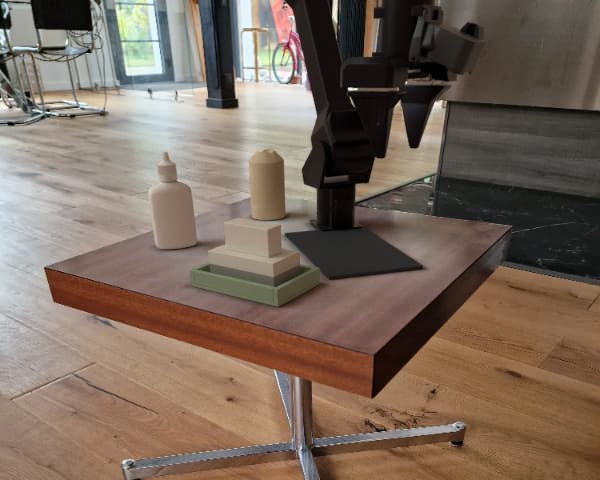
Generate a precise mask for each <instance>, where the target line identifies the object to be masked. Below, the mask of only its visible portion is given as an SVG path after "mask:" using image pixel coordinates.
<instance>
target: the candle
mask: <svg viewBox="0 0 600 480" xmlns="http://www.w3.org/2000/svg"><path fill="white" fill-rule="evenodd" d="M248 173H249V174H248V177H249V194H250V196H249V197H250V210H251V211H250V213H251V218H252V219H253V220H258V221H275V220H281V219H283V218H285V217H286V182H285V181H286V179H285V159H284V158H283V157H282V156H281V155H280V154H279V153H277V151H276V150H274V148H267V149H263V150H261V151H259V150H256V151H255V152H254V153H253V155H252V156H251V157H250V158H249V159H248Z"/></svg>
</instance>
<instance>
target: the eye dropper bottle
mask: <svg viewBox="0 0 600 480" xmlns="http://www.w3.org/2000/svg"><path fill="white" fill-rule="evenodd" d="M156 169H157V177H158V181H159V182H157V183H155V184H154V185H151V186H150V187H149V189H148V191H147V196H148V197H147V198H148V204H149V211H150V219H151V225H152V231H153V239H154V244H155V246H156V247H157V248H158V249H160V250H164V251H165V250H177V249H178V250H180V249H186V248H189V247H193V246H195V245H197V244H198V236H197V226H196V217H195V210H194V209H195V208H194V199H193V193H192V189H191V187H190V186H189V185H188V184H187V183H184V182H183V181H178V171H177V163H175V162H173V161H172V160H171V159H170V156H169V152H168V151H162V152H161V159H160V162H158V163H156Z"/></svg>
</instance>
